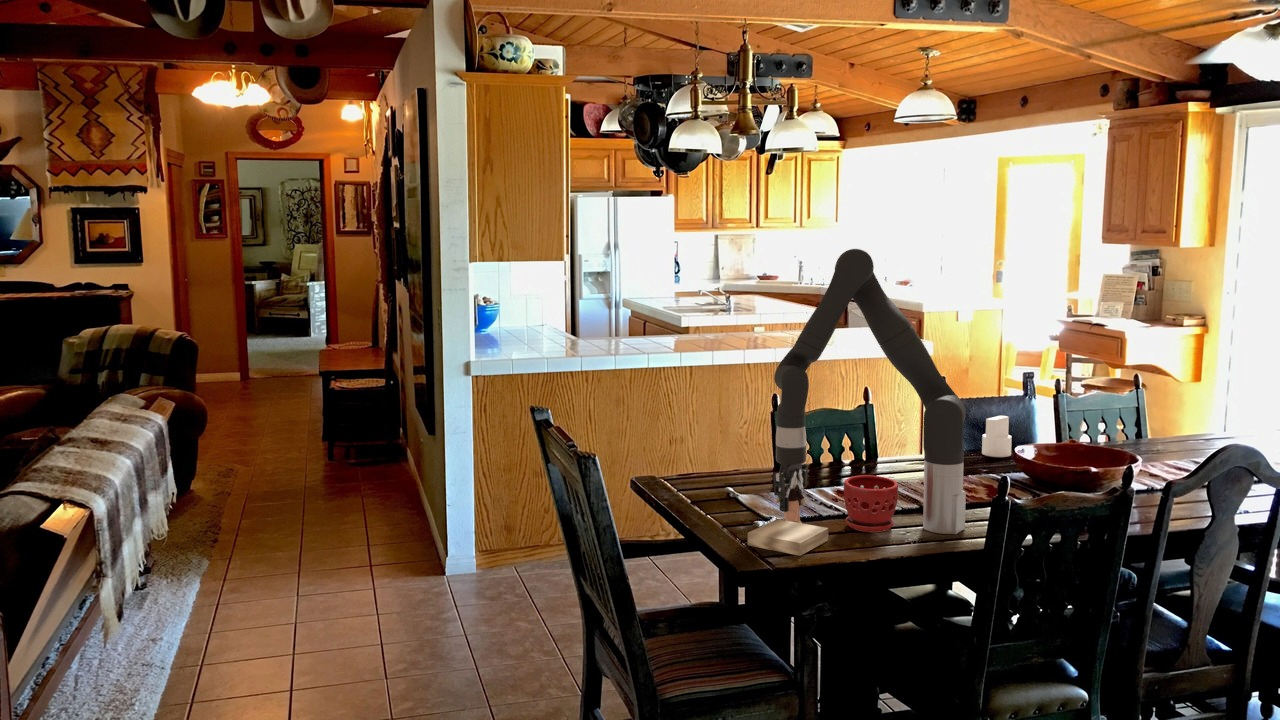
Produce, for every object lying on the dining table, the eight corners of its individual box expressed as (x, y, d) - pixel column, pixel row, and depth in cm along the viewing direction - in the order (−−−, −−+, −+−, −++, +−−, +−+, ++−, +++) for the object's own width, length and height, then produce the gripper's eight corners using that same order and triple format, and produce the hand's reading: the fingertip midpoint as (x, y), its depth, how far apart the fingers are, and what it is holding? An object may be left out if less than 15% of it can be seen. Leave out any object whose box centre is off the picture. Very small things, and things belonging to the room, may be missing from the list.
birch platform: (828, 540, 245) (828, 528, 245) (800, 555, 234) (800, 543, 234) (777, 530, 254) (777, 519, 253) (747, 545, 243) (747, 532, 242)
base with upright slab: (991, 449, 340) (992, 414, 338) (1016, 454, 333) (1017, 417, 331) (976, 453, 334) (977, 417, 332) (1001, 458, 327) (1002, 421, 326)
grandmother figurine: (805, 522, 261) (805, 473, 259) (806, 526, 257) (806, 477, 255) (775, 521, 261) (775, 473, 260) (775, 526, 258) (775, 476, 256)
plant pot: (833, 528, 255) (833, 481, 253) (862, 517, 264) (863, 472, 262) (878, 539, 245) (879, 490, 244) (907, 527, 255) (908, 480, 253)
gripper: (790, 450, 249) (790, 517, 251) (817, 440, 260) (817, 504, 262) (763, 446, 253) (763, 512, 255) (791, 436, 264) (791, 500, 267)
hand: (790, 508), depth 259 cm, fingers open, 6 cm apart
